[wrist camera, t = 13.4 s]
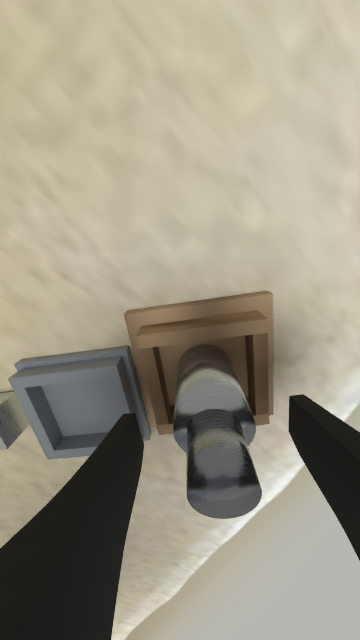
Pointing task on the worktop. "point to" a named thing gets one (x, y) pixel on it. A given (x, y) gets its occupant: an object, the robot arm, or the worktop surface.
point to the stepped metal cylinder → (215, 434)
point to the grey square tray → (78, 398)
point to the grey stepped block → (11, 419)
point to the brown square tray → (204, 328)
